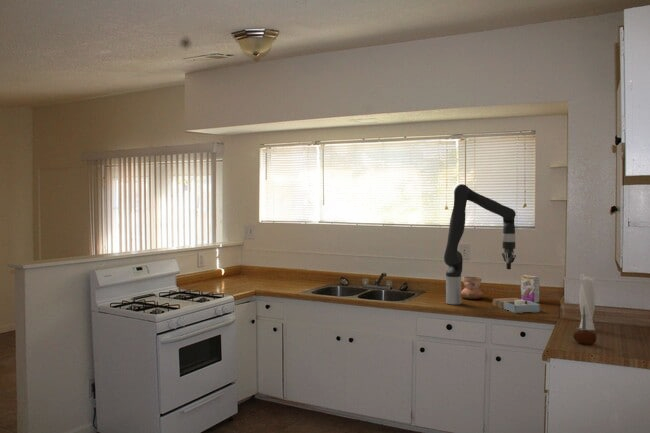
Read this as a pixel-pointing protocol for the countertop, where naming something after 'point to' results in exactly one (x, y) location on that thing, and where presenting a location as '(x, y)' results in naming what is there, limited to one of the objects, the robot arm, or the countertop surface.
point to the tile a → (519, 302)
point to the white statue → (587, 303)
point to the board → (500, 301)
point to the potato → (585, 337)
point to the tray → (522, 307)
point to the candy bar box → (530, 288)
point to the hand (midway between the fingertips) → (508, 269)
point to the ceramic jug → (471, 287)
